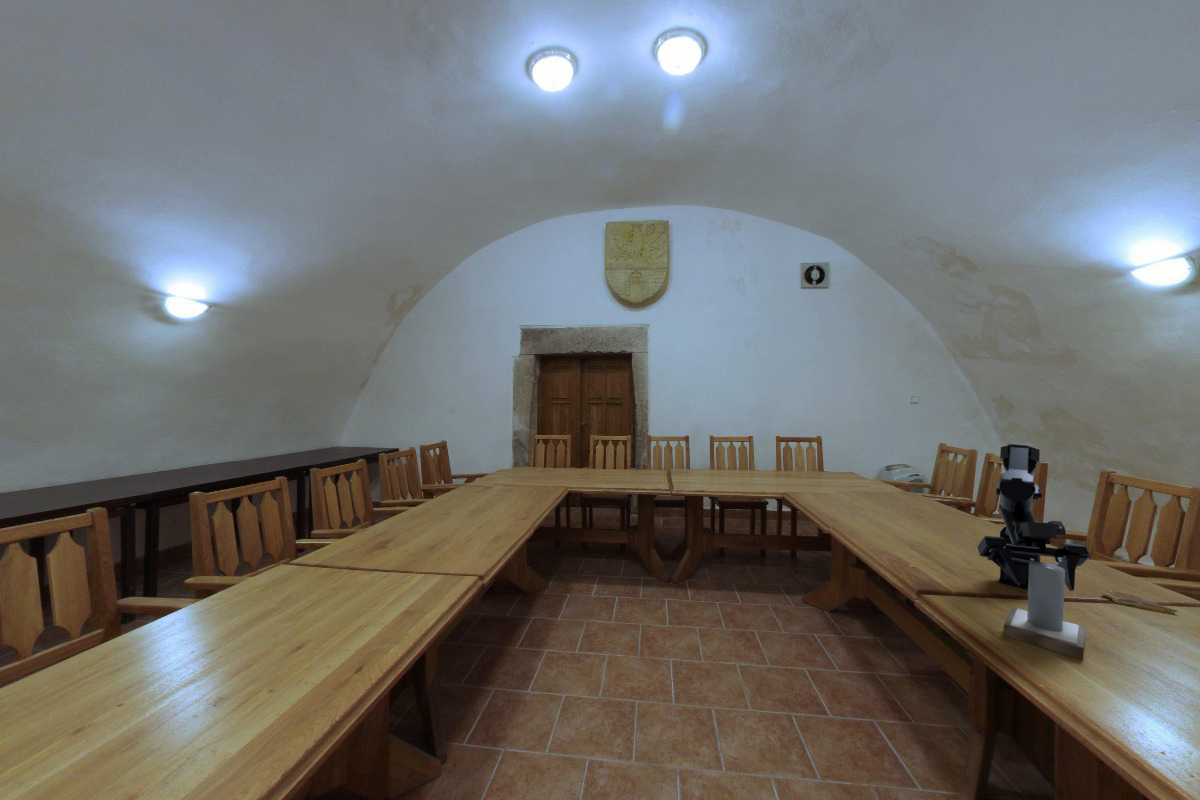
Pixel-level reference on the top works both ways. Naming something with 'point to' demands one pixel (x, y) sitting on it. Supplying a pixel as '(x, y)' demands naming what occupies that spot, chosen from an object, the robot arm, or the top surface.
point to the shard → (1136, 601)
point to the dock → (1046, 634)
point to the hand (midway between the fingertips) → (1045, 587)
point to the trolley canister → (1046, 596)
